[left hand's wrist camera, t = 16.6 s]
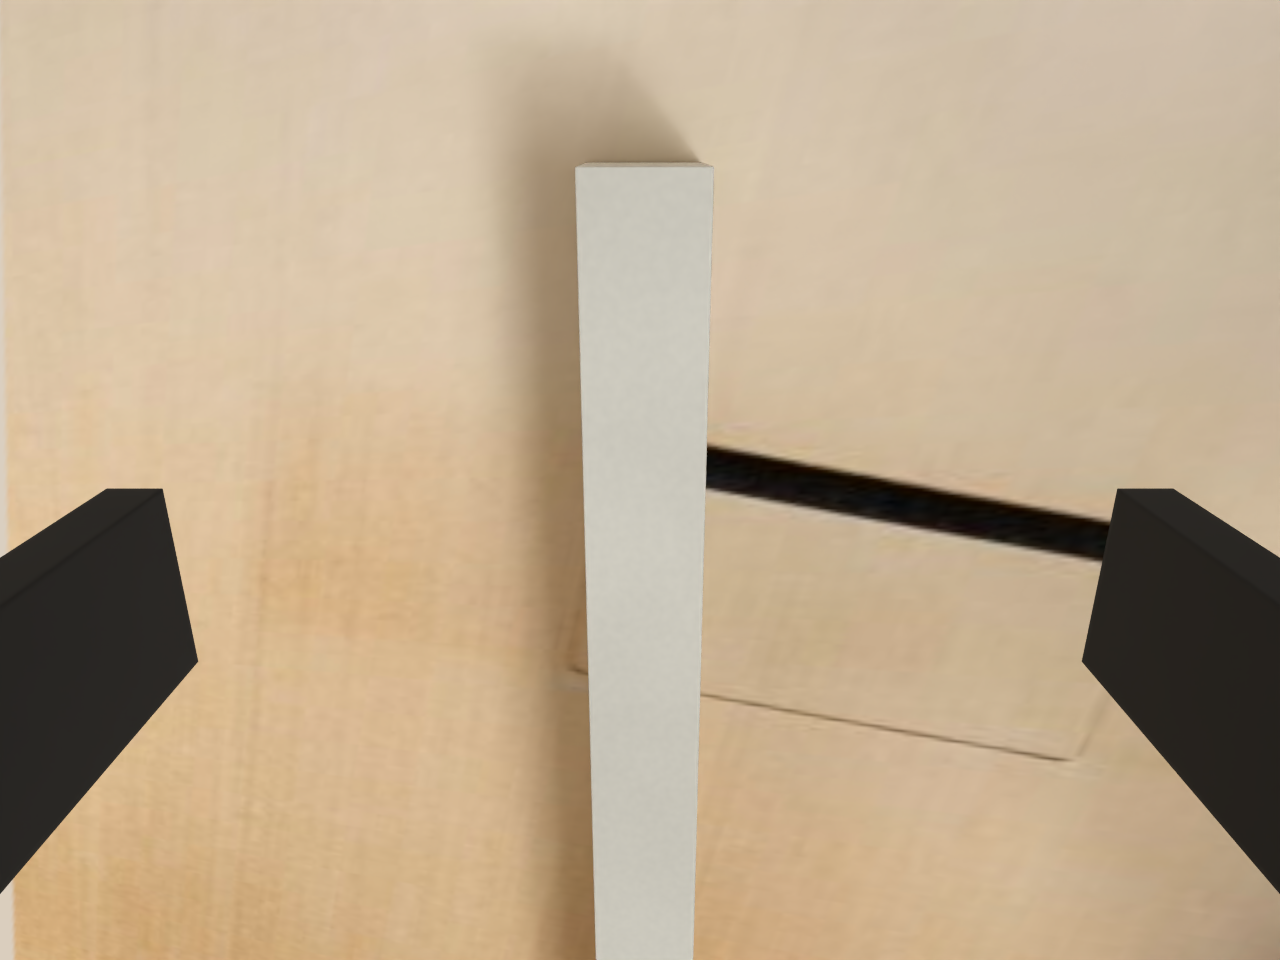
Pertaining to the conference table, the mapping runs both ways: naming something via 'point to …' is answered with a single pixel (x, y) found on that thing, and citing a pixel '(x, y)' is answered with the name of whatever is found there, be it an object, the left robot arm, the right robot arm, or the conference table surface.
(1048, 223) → the conference table surface
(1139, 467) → the conference table surface
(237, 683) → the conference table surface
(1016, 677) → the conference table surface
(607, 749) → the beam
